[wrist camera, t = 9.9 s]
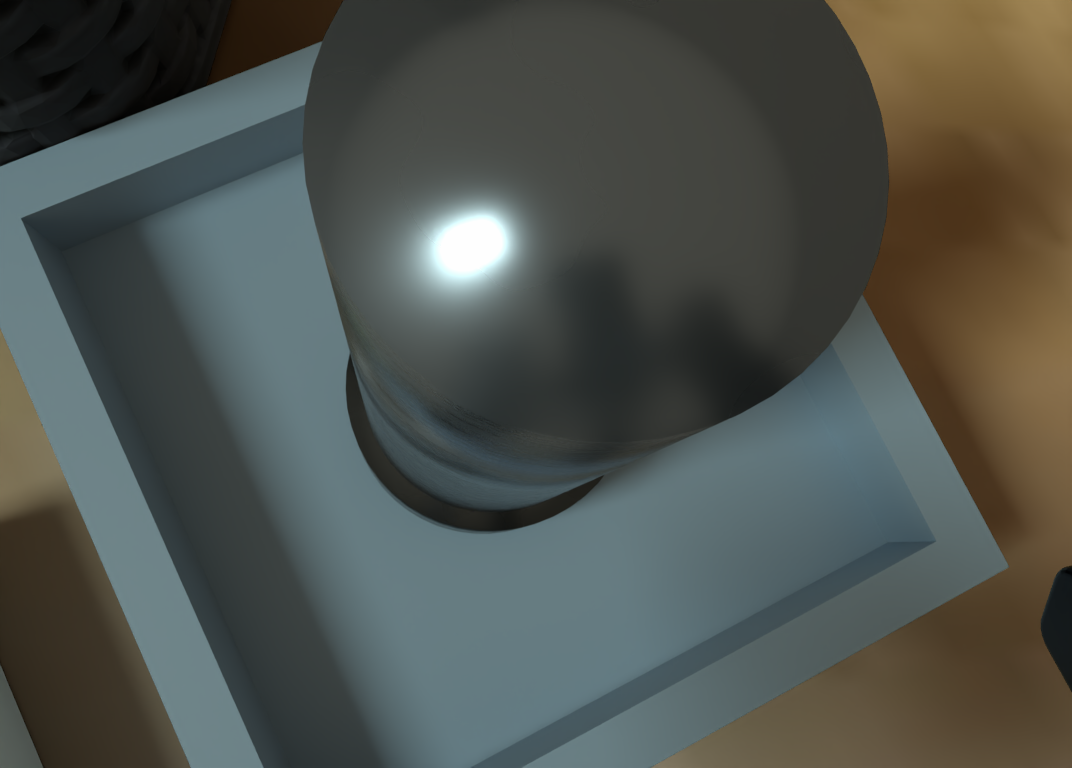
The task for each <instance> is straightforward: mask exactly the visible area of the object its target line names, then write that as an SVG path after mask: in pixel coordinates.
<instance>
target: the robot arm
mask: <svg viewBox="0 0 1072 768" xmlns="http://www.w3.org/2000/svg"><path fill="white" fill-rule="evenodd" d="M1041 632H1042V636H1043V639H1044V642H1045V644H1046V647H1047V648H1048V650H1049V652H1050V654H1051V656H1052V657H1053V659H1054V661H1055V663H1056V665H1057V666H1058V668H1059V670H1060V672H1061V674H1062V676H1063V677H1064V679H1065V681H1066V683H1067V685H1068V686H1069V688H1070V690H1071V692H1072V566H1068V567H1064V568H1062V569H1061V570H1060V571H1059V572H1058V573H1057V575H1056V577H1055V579H1054V582H1053V585H1052V588H1051V591H1050V594H1049V597H1048V600H1047V603H1046V606H1045V609H1044V612H1043V615H1042V618H1041Z"/></svg>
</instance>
